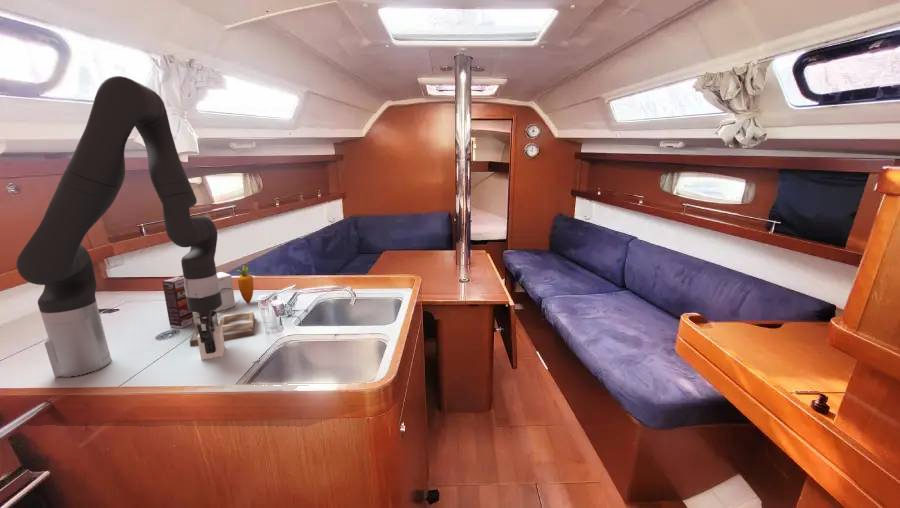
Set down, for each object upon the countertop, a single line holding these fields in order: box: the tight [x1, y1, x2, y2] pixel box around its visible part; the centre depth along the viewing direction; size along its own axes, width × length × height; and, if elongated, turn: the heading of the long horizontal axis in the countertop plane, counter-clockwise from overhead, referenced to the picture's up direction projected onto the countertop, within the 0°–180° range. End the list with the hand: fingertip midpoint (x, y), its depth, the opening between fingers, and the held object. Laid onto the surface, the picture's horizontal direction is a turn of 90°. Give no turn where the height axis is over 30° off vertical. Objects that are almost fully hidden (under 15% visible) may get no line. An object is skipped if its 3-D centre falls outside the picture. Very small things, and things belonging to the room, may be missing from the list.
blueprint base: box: [189, 310, 256, 347], centre depth 105 cm, size 16×13×9 cm
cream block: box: [197, 326, 226, 361], centre depth 93 cm, size 5×5×7 cm
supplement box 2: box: [216, 271, 236, 313], centre depth 122 cm, size 7×7×13 cm
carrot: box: [236, 265, 254, 304], centre depth 126 cm, size 5×5×15 cm
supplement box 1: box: [161, 274, 194, 329], centre depth 109 cm, size 9×5×16 cm, turn 168°
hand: (212, 347), depth 93 cm, fingers closed on cream block, 5 cm apart
